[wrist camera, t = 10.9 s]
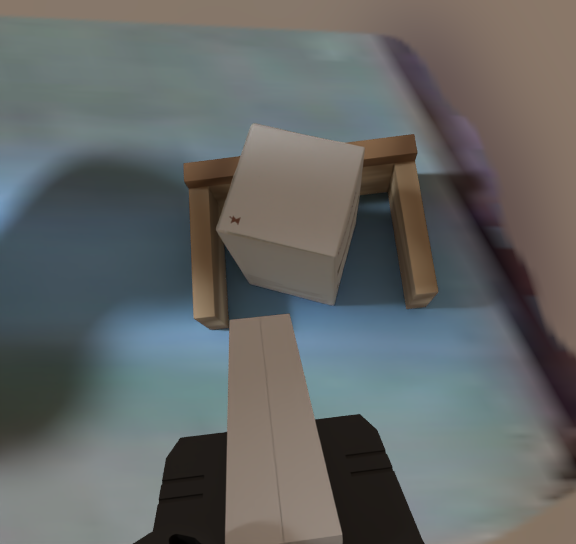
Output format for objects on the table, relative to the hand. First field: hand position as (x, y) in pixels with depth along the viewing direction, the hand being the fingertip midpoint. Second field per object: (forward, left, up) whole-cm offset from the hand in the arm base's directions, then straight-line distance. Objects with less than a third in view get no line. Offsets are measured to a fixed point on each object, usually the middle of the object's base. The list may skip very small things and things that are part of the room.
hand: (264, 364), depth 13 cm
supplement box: (+1, +11, -26) cm, 29 cm away
